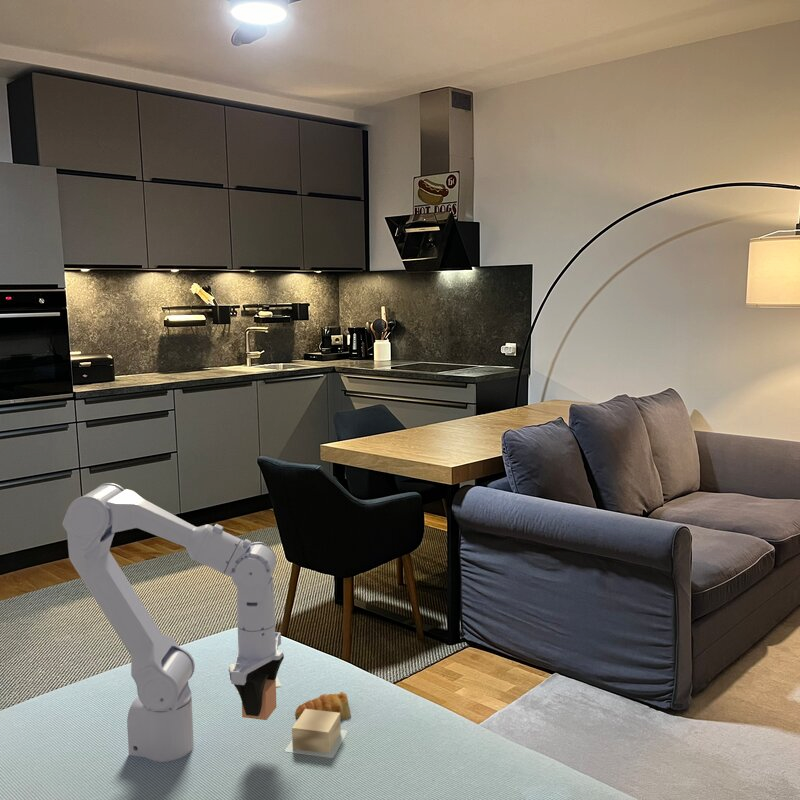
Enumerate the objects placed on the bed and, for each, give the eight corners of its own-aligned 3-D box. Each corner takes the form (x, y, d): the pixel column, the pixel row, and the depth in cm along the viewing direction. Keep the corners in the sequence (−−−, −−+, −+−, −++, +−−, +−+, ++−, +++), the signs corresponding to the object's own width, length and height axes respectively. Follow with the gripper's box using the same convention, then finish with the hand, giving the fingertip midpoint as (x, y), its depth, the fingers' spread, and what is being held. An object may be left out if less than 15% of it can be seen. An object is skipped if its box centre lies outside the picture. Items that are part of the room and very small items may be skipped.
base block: (292, 748, 124) (292, 727, 124) (305, 728, 130) (305, 708, 129) (328, 753, 123) (328, 732, 122) (340, 733, 128) (340, 712, 128)
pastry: (298, 732, 131) (297, 710, 130) (292, 712, 137) (291, 691, 137) (353, 723, 133) (353, 702, 133) (345, 704, 140) (344, 684, 139)
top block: (242, 717, 122) (241, 689, 121) (253, 704, 126) (252, 677, 125) (266, 720, 121) (265, 692, 120) (276, 707, 125) (275, 680, 124)
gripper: (261, 646, 114) (264, 734, 115) (297, 608, 128) (299, 687, 129) (216, 641, 115) (219, 728, 117) (257, 604, 129) (259, 683, 131)
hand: (258, 707), depth 123 cm, fingers closed on top block, 4 cm apart
